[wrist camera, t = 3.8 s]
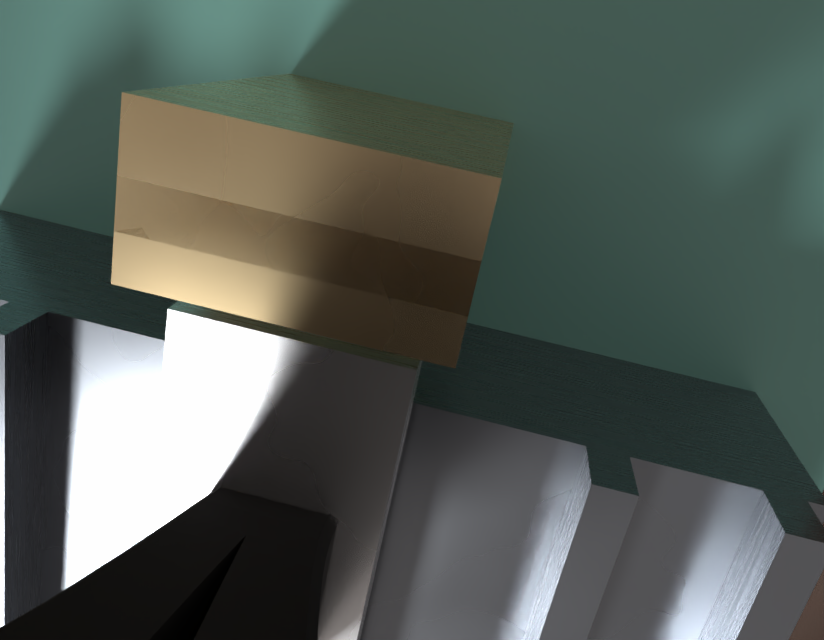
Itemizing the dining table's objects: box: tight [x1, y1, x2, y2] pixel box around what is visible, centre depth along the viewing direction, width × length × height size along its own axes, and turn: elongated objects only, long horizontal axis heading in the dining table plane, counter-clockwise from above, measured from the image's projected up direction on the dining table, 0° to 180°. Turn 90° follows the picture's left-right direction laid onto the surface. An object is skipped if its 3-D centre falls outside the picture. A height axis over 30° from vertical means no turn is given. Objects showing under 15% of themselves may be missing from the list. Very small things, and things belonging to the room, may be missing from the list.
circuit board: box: [0, 0, 824, 493], centre depth 14 cm, size 15×24×1 cm, turn 169°
